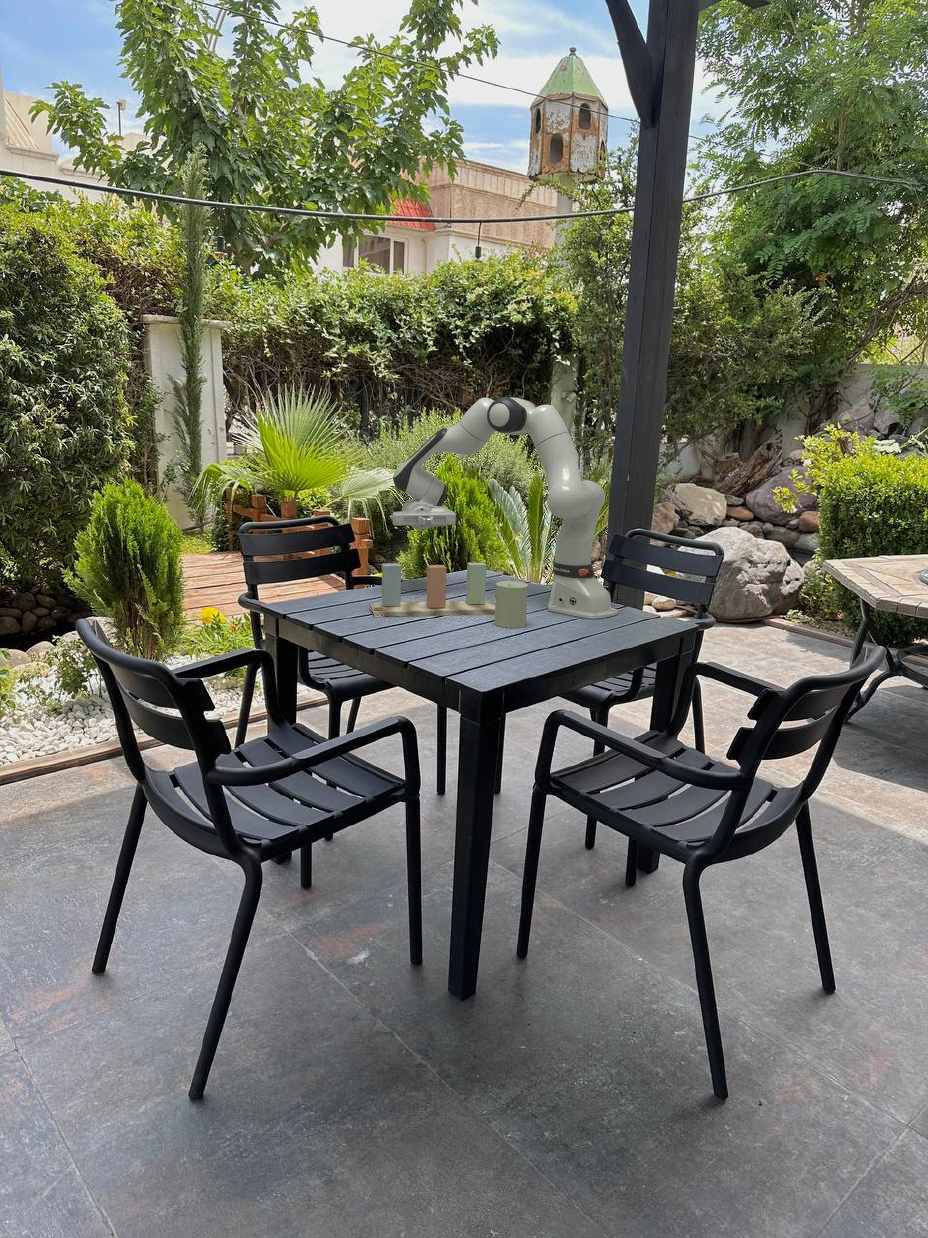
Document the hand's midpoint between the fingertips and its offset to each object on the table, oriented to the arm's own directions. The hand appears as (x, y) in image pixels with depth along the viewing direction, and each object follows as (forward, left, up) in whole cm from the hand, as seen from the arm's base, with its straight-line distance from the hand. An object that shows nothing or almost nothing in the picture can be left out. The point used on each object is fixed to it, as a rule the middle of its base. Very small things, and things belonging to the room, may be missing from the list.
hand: (428, 521), depth 246 cm
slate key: (-5, +18, -23) cm, 29 cm away
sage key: (-18, -5, -23) cm, 29 cm away
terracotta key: (-14, +8, -23) cm, 28 cm away
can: (-37, -1, -25) cm, 45 cm away
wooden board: (-13, +7, -25) cm, 29 cm away
